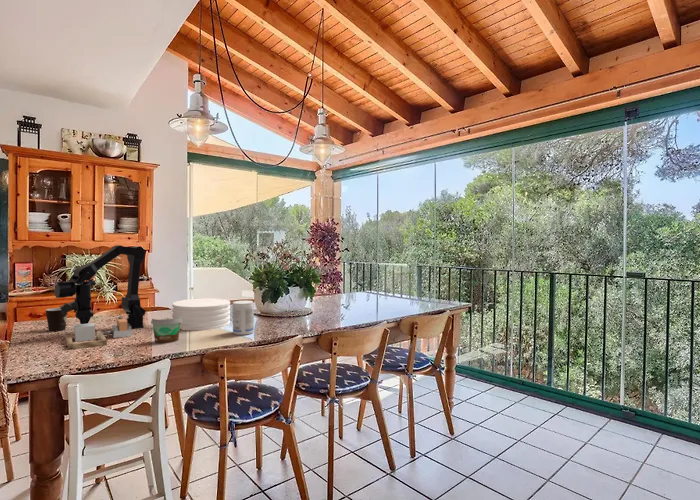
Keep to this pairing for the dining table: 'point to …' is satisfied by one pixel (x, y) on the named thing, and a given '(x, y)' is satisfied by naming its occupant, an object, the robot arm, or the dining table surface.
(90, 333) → the tilted light grey box
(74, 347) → the bay
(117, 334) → the block
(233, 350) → the dining table surface
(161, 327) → the food container
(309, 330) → the dining table surface
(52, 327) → the coffee mug
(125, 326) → the crank handle
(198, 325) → the plate stack
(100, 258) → the robot arm
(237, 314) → the supplement tub
